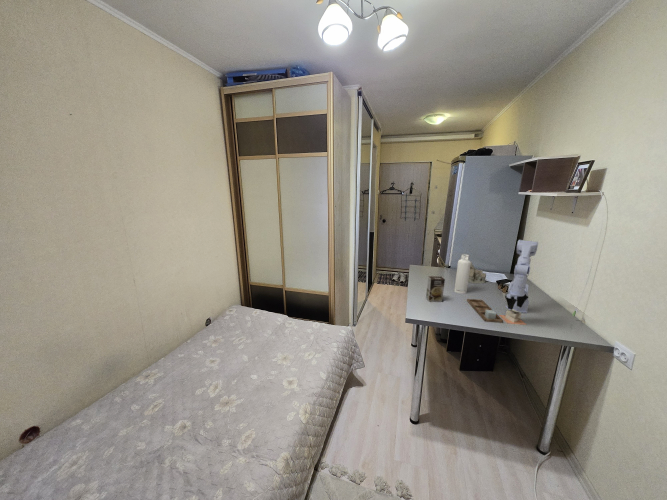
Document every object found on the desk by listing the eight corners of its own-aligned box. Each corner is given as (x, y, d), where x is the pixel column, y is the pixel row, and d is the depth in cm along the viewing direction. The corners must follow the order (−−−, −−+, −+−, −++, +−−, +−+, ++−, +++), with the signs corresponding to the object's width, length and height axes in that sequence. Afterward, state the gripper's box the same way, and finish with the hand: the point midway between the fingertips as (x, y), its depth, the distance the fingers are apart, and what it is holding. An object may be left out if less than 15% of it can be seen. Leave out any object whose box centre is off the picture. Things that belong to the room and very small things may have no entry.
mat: (516, 316, 147) (516, 316, 147) (526, 325, 138) (527, 324, 137) (498, 315, 148) (498, 314, 148) (507, 324, 139) (507, 323, 139)
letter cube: (511, 316, 146) (512, 308, 145) (519, 321, 141) (521, 312, 140) (505, 318, 144) (506, 310, 143) (513, 322, 140) (515, 314, 139)
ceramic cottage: (459, 280, 206) (463, 263, 202) (467, 276, 217) (471, 260, 213) (479, 286, 195) (483, 269, 191) (487, 282, 205) (491, 265, 201)
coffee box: (428, 301, 166) (431, 279, 162) (425, 297, 173) (427, 275, 169) (442, 302, 166) (445, 279, 162) (438, 298, 172) (441, 276, 168)
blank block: (491, 316, 146) (492, 310, 145) (495, 319, 142) (496, 313, 142) (484, 315, 147) (485, 309, 146) (487, 319, 143) (488, 313, 142)
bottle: (463, 289, 187) (468, 253, 180) (468, 294, 179) (473, 256, 173) (452, 289, 188) (457, 253, 181) (456, 293, 180) (461, 256, 173)
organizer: (481, 302, 166) (482, 299, 165) (502, 323, 140) (503, 320, 139) (466, 301, 167) (466, 298, 167) (484, 322, 141) (485, 319, 140)
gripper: (520, 281, 144) (516, 302, 147) (502, 284, 139) (498, 306, 142) (533, 285, 138) (528, 308, 141) (515, 289, 133) (511, 312, 136)
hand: (514, 307), depth 141 cm, fingers open, 7 cm apart
